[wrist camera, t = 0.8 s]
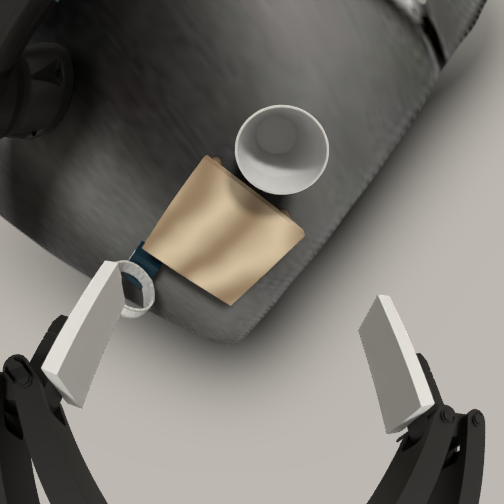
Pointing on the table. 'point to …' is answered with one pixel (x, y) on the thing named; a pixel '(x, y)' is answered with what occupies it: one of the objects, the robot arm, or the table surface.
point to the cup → (281, 149)
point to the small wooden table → (221, 232)
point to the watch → (140, 278)
